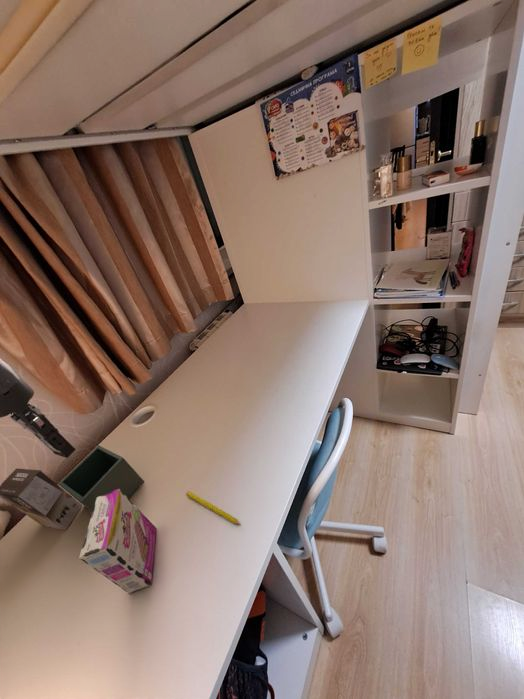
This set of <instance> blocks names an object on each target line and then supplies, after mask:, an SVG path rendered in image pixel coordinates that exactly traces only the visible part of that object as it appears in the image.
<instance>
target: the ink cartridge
mask: <svg viewBox="0 0 524 699" xmlns="http://www.w3.org/2000/svg"><path fill="white" fill-rule="evenodd" d="M49 430H50V429H48V430H47V431H46V432H48V431H49ZM46 432H45V433H46ZM45 433H44V434H45ZM58 434H59V435H60V436H61V437H62V438H63V439H64V440H65V441H66V445H65V446H64V447H63V448H61V449H60V450H58V451H57V450H55V449H54V448H53V447H52V446H51V445H50V444H49V443H48V442H47V441H45V440H43V439H42V438H41V437H40V436H39V435H38V434H33V436H35V437H36V438H37V439H38V440H39V441H40V442H42V443H43V444H44V445H45V446H46V447H47V448H48V449H49V450H50V451H51V452H52V453H53V454H54V455H57V456H60V457H62V458H66V459H68V458H69V457H70V456H71V455H73V453H74V452H75V451H76V448H75V447H74V445H72V444H71V443H70V442H69V441H68V440H67V439H66V438H65V437H64V436H63V435H62V434H61V433H60V431H59V432H58Z"/></svg>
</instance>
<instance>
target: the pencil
mask: <svg viewBox="0 0 524 699" xmlns="http://www.w3.org/2000/svg"><path fill="white" fill-rule="evenodd" d="M185 496H187V497H189V498H190V499H191V500H194V501H195V502H196V503H199V504H200V505H202V506H204V507H205V508H207V509H209V510H210V511H212V512H214V513H215V514H217V515H219V516H221V517H222V518H224V519H226V520H227V521H229V522H231V523H232V524H234V525H241V523H240V521H239V520H238V519H237V517H234V516H232V515H231V514H229V513H227V512H226V511H224V510H223V509H220V508H219V507H217V506H216V505H213V504H212V503H210V502H208V501H206V500H205V499H203V498H201V497H200V496H198V495H196V494H194V493H192V492H191V491H189V490H188V491H186V493H185Z"/></svg>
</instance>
